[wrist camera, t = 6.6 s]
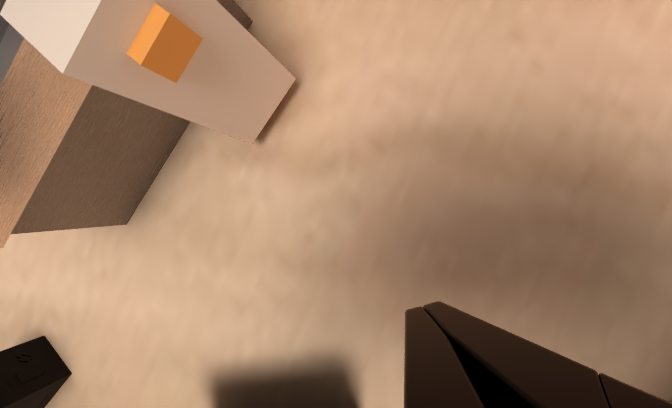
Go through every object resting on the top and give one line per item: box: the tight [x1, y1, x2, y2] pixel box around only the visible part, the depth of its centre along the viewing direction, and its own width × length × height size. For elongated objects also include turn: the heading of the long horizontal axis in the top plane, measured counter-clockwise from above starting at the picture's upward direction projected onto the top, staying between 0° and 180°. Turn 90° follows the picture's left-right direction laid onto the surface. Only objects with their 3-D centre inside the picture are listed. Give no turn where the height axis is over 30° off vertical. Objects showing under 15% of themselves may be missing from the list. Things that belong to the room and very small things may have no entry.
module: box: [0, 0, 296, 144], centre depth 15 cm, size 5×5×11 cm
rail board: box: [0, 0, 252, 248], centre depth 16 cm, size 6×18×16 cm, turn 143°
